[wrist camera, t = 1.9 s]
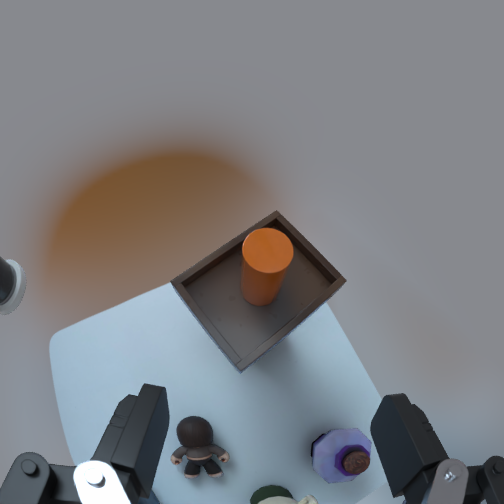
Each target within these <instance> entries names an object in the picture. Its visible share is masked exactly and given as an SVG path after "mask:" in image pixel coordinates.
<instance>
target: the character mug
mask: <svg viewBox="0 0 504 504" xmlns="http://www.w3.org/2000/svg"><path fill="white" fill-rule="evenodd" d="M250 503H251V504H307V503H308V504H318V502H317V500H316V499H315V498H314V497H313V496H312V495H307V496H306V497H304V498H303V499H302V500H301V501H299V502H297V501H295V500H293V497H292V495H291V494H290V492H289V491H288V490H287V489H285V488H283V487H281V486H273V485H270V486H265V487H261V488H260V489H259V490H257V491H256V492H254V494H253V496H252V498H251V500H250Z"/></svg>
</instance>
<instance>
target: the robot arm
mask: <svg viewBox="0 0 504 504" xmlns="http://www.w3.org/2000/svg"><path fill="white" fill-rule="evenodd" d="M16 282H17V275H16V271H15V269H14V267H13V266H11V265H10V264H9V263H7V262H6V261H5V260H4V259H2V258H1V257H0V306H1V305H3V304H5V303H6V302H8V300H9V299H10V298H11V296H12V295H13V293H14V290H15V287H16ZM169 419H170V416H169V408H168V400H167V393H166V388H165V387H161V386H155V385H150V384H144V385H143V386H142V388H141V390H140V393H139V395H138V396H135V395H130V394H129V395H128V396H126V397H125V398H124V399H123V400H122V401H120V402H119V404H118V406H117V408H116V410H115V412H114V415H113V416H112V418H111V420H110V423H109V424H108V426H107V428H106V430H105V432H104V434H103V436H102V438H101V441H100V443H99V445H98V447H97V449H96V451H95V453H94V455H93V457H92V458H91V459H90V460H89V461H85V462H83V463H81V464H80V465H78V466H63V465H55V464H48V463H47V461H46V460H45V459H44V458H43V457H42V456H41V455H39V454H37V453H33V452H26V453H23V454H21V455H19V456H18V457H17V458H16V459H15V461H14V463H13V465H12V466H11V468H10V470H9V472H8V474H7V476H6V478H5V480H4V482H3V484H2V487H1V489H0V504H138V500H139V497H142V498H146V499H149V496H150V492H151V488H152V485H153V481H154V477H155V474H156V470H157V466H158V463H159V459H160V456H161V452H162V449H163V445H164V442H165V438H166V435H167V431H168V427H169ZM370 431H371V436H372V438H373V441H374V444H375V447H376V449H377V452H378V455H379V458H380V460H381V463H382V466H383V469H384V472H385V475H386V478H387V480H388V483H389V486H390V489H391V492H392V495H393V497H394V498H395V497H398V496H402V495H404V496H405V500H404V501H403V503H402V504H480V503H481V502H482V501H483V500H484V499H486V502H487V504H504V458H503V457H500V456H492V457H490V458H489V459H488V460H487V461H486V462H485V463H484V464H483V465H480V466H468V467H466V465H465V464H464V463H463V462H461V461H460V460H457V459H450V458H449V457H448V455H447V453H446V451H445V450H444V448H443V446H442V444H441V442H440V440H439V439H438V437H437V435H436V433H435V431H433V428H432V426H431V424H430V423H429V421H428V419H427V417H426V415H425V414H424V412H423V411H422V410H420V408H418V407H417V406H416V405H415V404H412V405H411V403H410V401H409V399H408V397H407V396H406V395H405V394H403V393H401V394H393V395H386V396H384V398H383V399H382V402H381V404H380V406H379V408H378V410H377V412H376V414H375V416H374V417H373V419H372V422H371V427H370Z"/></svg>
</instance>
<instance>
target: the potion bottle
mask: <svg viewBox="0 0 504 504" xmlns="http://www.w3.org/2000/svg"><path fill="white" fill-rule="evenodd" d="M371 443H372V442H371V441H370V440H369V439H368V438H367V437H366V436H365V435H364V434H363V433H362V432H361V431H360V430H359V429H358V428H352V429H337V430H332V431H329V432H328V433H327V434H322V435H321V436H319V437H318V438H317V439H316V440H315V441H314V442H313V443H312V448H311V457H312V458H313V459H312V466H313V470H314V471H315V472H317V473H318V474H319V475H320V476H321V477H322V478H323V479H324V480H325V481H327V482H328V483H336V482H346V481H352V480H353V479H354V478H355V477H356V476H357V475H359V474H360V473H362V472H364V471H365V470H366V469H367V468H368V466H369V464H370V453H371Z"/></svg>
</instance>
